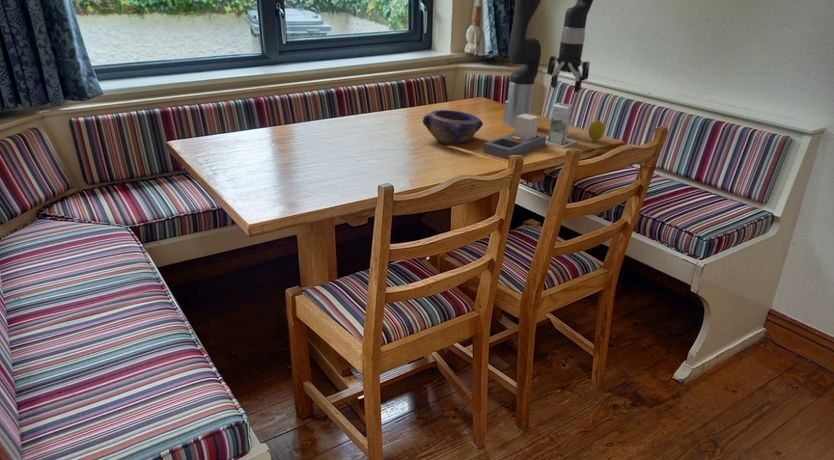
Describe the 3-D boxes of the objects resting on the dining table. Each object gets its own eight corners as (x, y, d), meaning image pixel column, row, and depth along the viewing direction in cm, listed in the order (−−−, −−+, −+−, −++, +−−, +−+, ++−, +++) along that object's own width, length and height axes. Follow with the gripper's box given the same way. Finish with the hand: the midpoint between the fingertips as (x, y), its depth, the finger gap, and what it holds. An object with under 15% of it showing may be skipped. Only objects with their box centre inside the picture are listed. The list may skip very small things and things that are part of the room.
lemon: (602, 144, 224) (606, 122, 220) (587, 142, 225) (590, 121, 221) (601, 139, 229) (605, 118, 225) (586, 138, 230) (590, 117, 226)
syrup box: (566, 143, 222) (572, 104, 216) (562, 148, 217) (569, 107, 211) (550, 141, 224) (556, 101, 218) (546, 145, 219) (552, 105, 213)
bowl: (487, 142, 218) (490, 115, 214) (455, 152, 206) (457, 123, 202) (449, 131, 229) (451, 104, 225) (416, 140, 217) (417, 112, 213)
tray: (537, 144, 220) (537, 140, 219) (551, 138, 227) (551, 134, 226) (562, 150, 214) (563, 146, 213) (576, 145, 221) (576, 141, 220)
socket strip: (482, 154, 206) (484, 140, 204) (520, 140, 223) (522, 127, 221) (507, 162, 200) (509, 148, 198) (544, 147, 217) (546, 133, 215)
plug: (513, 144, 215) (516, 116, 210) (521, 141, 219) (524, 113, 214) (526, 147, 212) (530, 119, 207) (534, 144, 216) (538, 116, 211)
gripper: (547, 39, 206) (541, 87, 213) (586, 45, 198) (578, 95, 205) (558, 37, 212) (552, 84, 219) (596, 43, 204) (588, 91, 210)
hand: (565, 89), depth 212 cm, fingers open, 8 cm apart
